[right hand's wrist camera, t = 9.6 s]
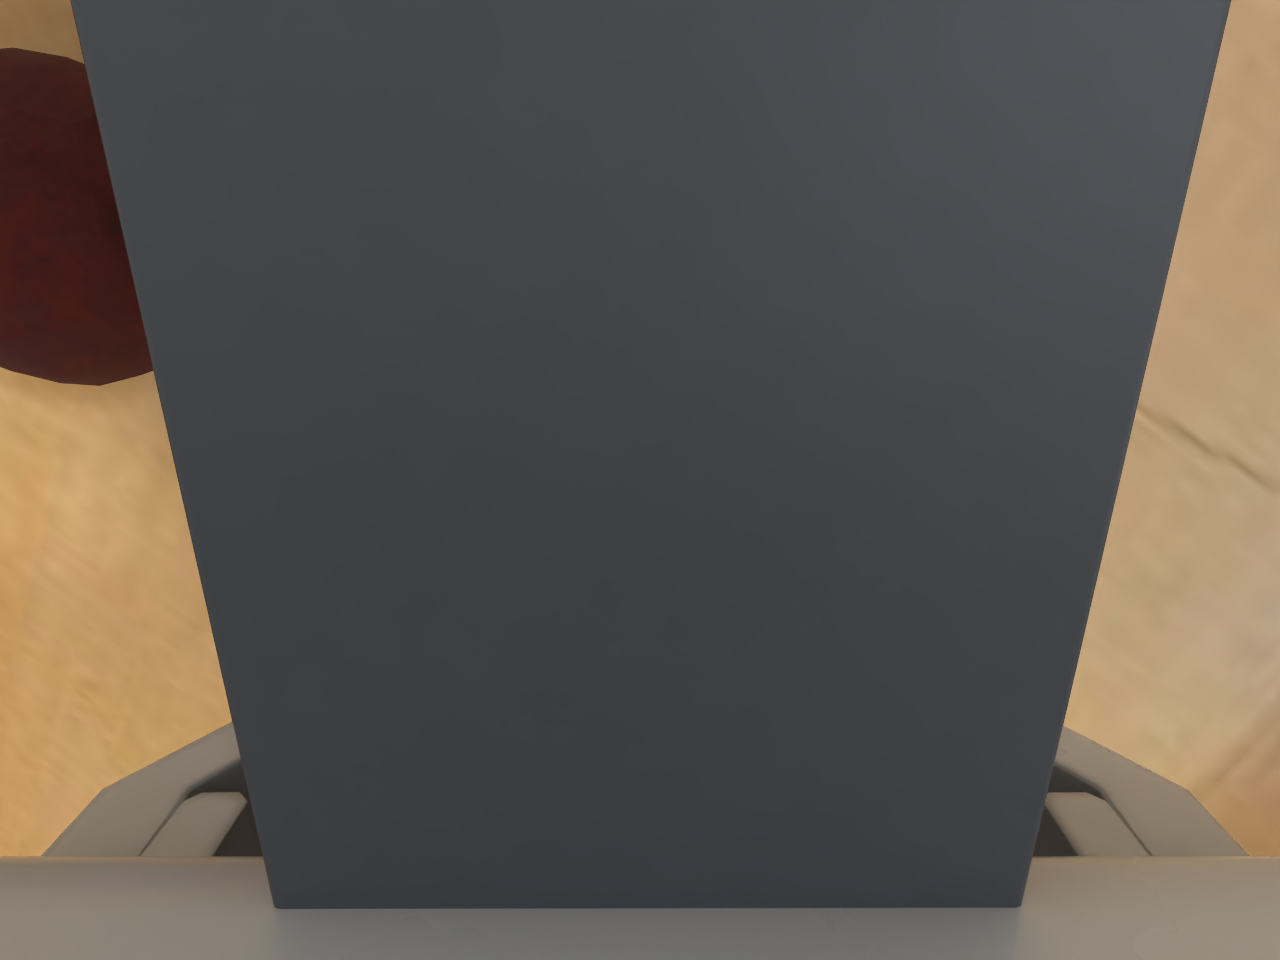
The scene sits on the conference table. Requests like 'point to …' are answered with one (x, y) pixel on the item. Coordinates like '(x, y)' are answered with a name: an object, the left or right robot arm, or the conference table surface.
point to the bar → (649, 421)
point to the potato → (61, 232)
